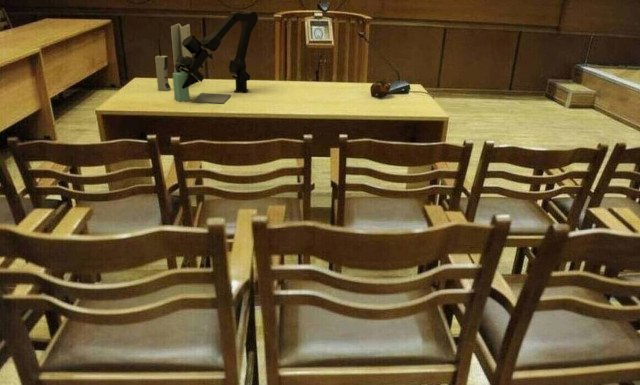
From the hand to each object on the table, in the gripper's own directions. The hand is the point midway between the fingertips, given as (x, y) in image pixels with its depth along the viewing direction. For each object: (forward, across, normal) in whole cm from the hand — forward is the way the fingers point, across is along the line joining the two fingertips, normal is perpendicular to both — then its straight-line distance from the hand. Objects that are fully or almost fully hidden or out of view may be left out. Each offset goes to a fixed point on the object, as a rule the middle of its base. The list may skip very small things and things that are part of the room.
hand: (178, 86), depth 232 cm
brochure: (-8, -28, +17) cm, 34 cm away
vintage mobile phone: (+2, -23, +7) cm, 24 cm away
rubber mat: (-5, +6, +15) cm, 17 cm away
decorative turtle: (-58, +47, +67) cm, 100 cm away
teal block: (+4, 0, +6) cm, 7 cm away
